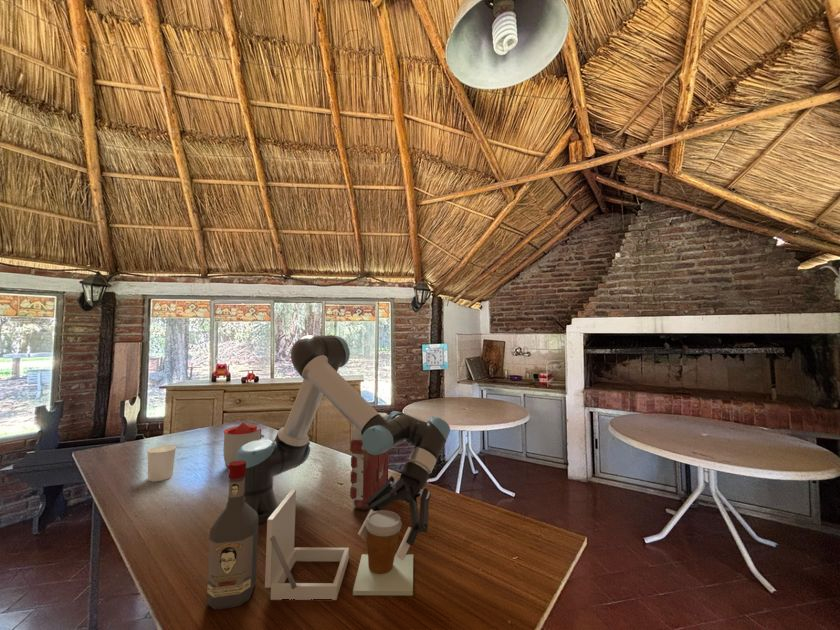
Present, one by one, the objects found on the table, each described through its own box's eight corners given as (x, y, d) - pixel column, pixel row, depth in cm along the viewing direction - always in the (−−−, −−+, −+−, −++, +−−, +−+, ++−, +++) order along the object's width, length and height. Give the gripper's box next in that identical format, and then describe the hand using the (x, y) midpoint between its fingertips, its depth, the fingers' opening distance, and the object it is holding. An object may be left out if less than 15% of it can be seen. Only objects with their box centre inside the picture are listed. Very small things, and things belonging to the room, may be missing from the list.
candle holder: (140, 480, 147) (141, 450, 148) (164, 472, 156) (166, 444, 157) (155, 484, 143) (157, 453, 144) (179, 475, 152) (181, 446, 153)
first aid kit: (371, 514, 121) (373, 424, 123) (348, 511, 122) (350, 423, 124) (390, 486, 143) (391, 411, 145) (370, 485, 145) (372, 410, 147)
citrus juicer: (268, 466, 164) (270, 422, 166) (228, 476, 152) (230, 428, 154) (256, 457, 176) (258, 416, 177) (217, 466, 163) (219, 422, 165)
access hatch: (263, 602, 80) (266, 520, 81) (289, 557, 97) (291, 489, 98) (335, 602, 80) (337, 520, 82) (349, 558, 97) (350, 490, 98)
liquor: (216, 584, 86) (222, 457, 88) (257, 579, 88) (262, 455, 90) (203, 613, 77) (209, 471, 79) (248, 606, 79) (254, 468, 81)
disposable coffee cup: (363, 554, 96) (366, 508, 97) (398, 554, 97) (401, 509, 97) (360, 578, 87) (364, 527, 87) (399, 578, 87) (403, 528, 88)
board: (352, 595, 83) (352, 590, 83) (361, 558, 97) (361, 554, 97) (412, 595, 83) (412, 590, 83) (413, 558, 97) (413, 554, 97)
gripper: (460, 487, 95) (424, 573, 83) (392, 464, 111) (354, 535, 98) (449, 472, 91) (410, 560, 79) (381, 451, 107) (339, 522, 95)
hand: (379, 546), depth 89 cm, fingers open, 13 cm apart
